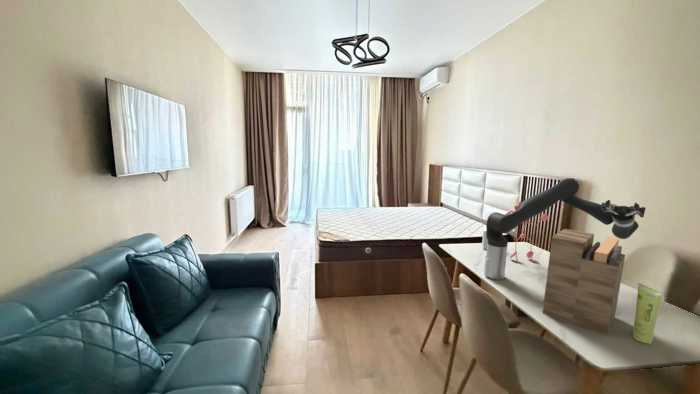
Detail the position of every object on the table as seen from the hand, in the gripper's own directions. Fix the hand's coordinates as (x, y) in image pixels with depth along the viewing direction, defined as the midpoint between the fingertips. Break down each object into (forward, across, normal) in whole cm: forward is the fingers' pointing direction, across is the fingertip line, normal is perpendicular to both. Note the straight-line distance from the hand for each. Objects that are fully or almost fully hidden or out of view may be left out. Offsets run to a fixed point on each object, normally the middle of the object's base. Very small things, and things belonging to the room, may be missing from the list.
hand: (621, 203), depth 126 cm
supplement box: (-44, -64, +24) cm, 82 cm away
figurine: (-40, -44, +27) cm, 65 cm away
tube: (+3, +14, +52) cm, 53 cm away
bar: (+10, 0, +25) cm, 27 cm away
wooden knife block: (+1, -5, +50) cm, 51 cm away
